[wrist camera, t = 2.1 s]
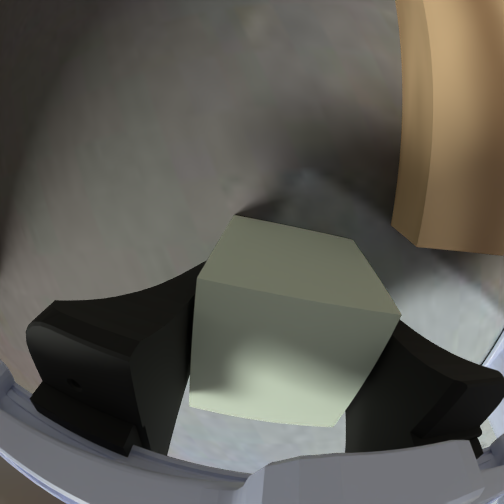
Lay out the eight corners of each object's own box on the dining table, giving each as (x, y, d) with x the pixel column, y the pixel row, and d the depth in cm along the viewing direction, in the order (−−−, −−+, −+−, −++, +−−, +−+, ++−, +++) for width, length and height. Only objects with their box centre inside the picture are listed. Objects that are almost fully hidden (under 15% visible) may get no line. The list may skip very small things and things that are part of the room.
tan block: (499, 14, 5) (528, 4, 3) (501, 238, 11) (534, 259, 8) (383, -41, 6) (401, -70, 3) (387, 222, 11) (416, 247, 8)
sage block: (352, 239, 11) (401, 314, 6) (319, 334, 13) (333, 427, 8) (234, 215, 11) (196, 277, 6) (218, 315, 13) (189, 406, 8)
